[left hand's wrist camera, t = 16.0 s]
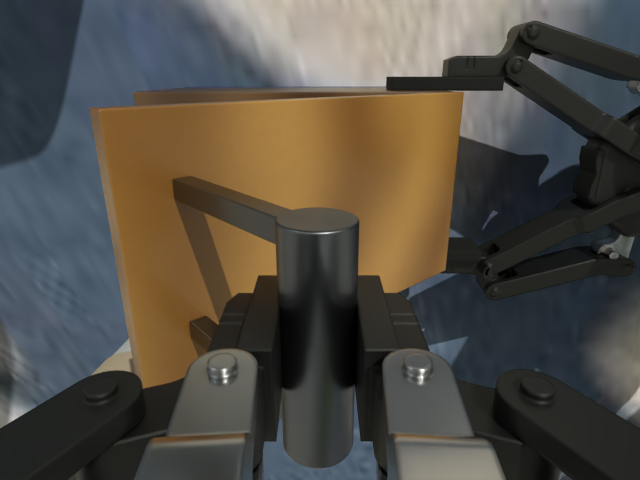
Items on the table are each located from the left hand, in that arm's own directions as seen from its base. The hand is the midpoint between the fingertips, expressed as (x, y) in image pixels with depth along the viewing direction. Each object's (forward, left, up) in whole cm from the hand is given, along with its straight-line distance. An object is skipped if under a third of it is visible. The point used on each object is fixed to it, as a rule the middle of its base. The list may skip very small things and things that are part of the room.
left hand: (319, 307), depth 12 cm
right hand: (-3, +2, -19) cm, 19 cm away
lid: (0, 0, -8) cm, 8 cm away
